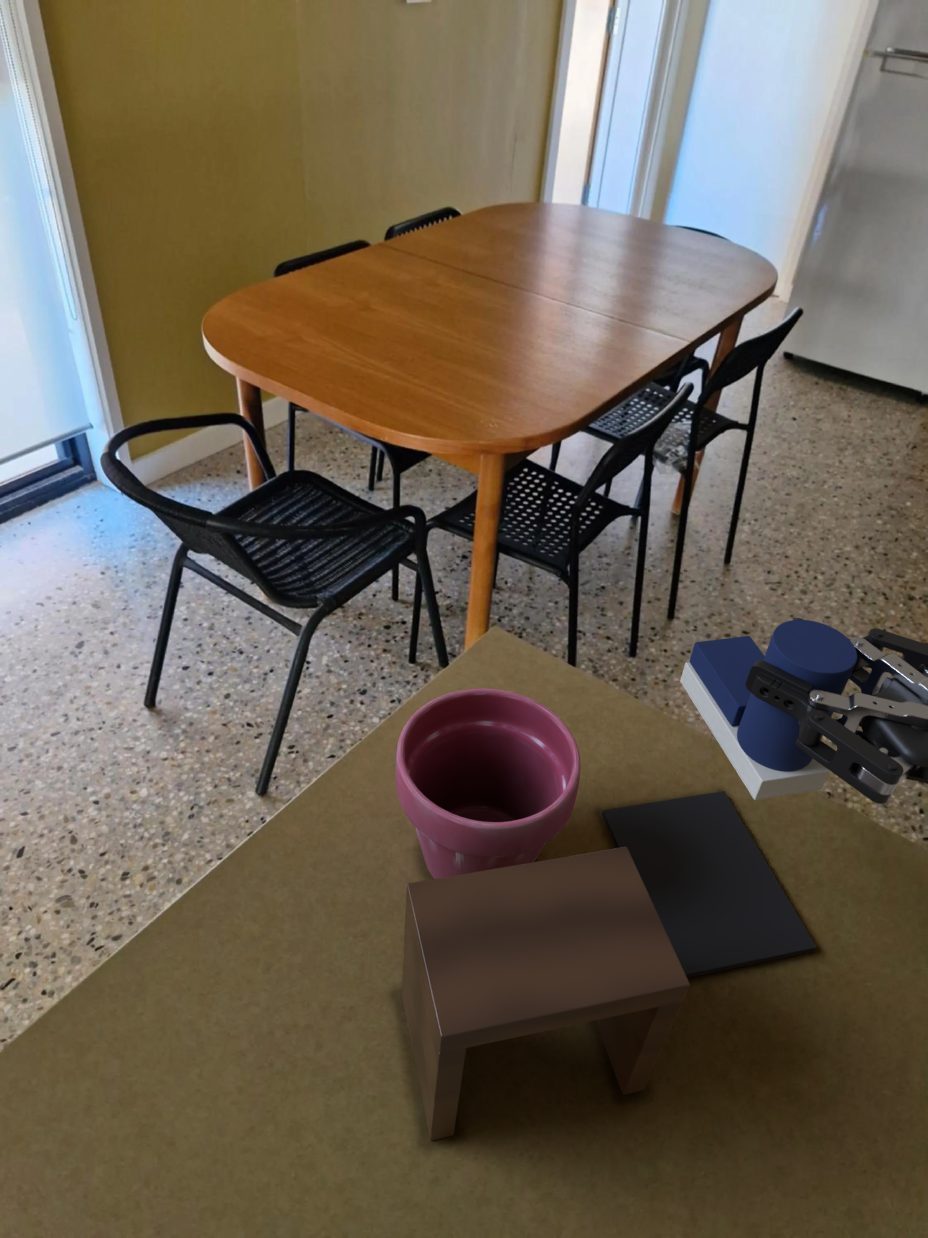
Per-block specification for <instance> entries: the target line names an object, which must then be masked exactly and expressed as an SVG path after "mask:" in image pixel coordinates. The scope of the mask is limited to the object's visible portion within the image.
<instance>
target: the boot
mask: <svg viewBox="0 0 928 1238" xmlns="http://www.w3.org/2000/svg"><path fill="white" fill-rule="evenodd" d="M849 639H850V638H849V637H847V636H846V635H845V634H843V633H842V632H841V631H840V630H837V629H836V628H834V627H832V626H830V625H827V624H825V623H822V622H819V621H816V620H809V619H804V620H794V619H791V620H786V621H784V622H782V623H780V624H779V625H777V626H776V627H775V629H774V630H773V632H772V635H771V637H770V640H769V643H768V646H767V649H766V651H765V654H764V653H763V652H762V650H761V649H760V648H759V646H758V645H757V643H756V642H755V641H754V640H753V638H752V637H751V636H750V635H744V636H735V637H727V638H719V639H712V640H711V639H710V640H702V641H696V642H694V644H693V648H692V650H691V654H690V658H689V661H687V662H685V663H684V666H683V670H682V673H681V677H680V681H679V682H680V684H681V685H682V687H683V688H684V690H685V692H686V693H687V695H688V696H689V698H690V700H691V701H692V703H693V704H694V706H695V708H696V710H697V711H698V712H699V714H700V715H701V717H702V719H703V721H704V722H705V724H706V725H707V727H708V729H709V731H710V732H711V733H712V735H713V737H714V738H715V740H716V741H717V743H718V744H719V746H720V748H721V750H722V751H723V752H724V754H725V756H726V757H727V759H728V761H729V762H730V764H731V765H732V767H733V768H734V771H735V772H736V773H737V775H738V777H739V778H740V780H741V781H742V783H743V785H744V786H745V787H746V790H747V791H748V792H749V794H750V796H751V798H752V799H753V801H760V800H766V799H771V798H777V797H784V796H790V795H794V794H801V793H808V792H814V791H820V790H822V789H823V787H824V786H825V783H826V780H827V779H828V777H829V774H830V773H831V771H830V770H828V769H827V768H826V767H824V766H823V765H821V764H820V763H819V762H817V761H816V760H814V759H813V758H812V757H810V756H809V755H807V754H806V753H805V752H803V751H802V750H800V749H799V748H798V747H797V745H796V741H797V738H798V736H799V729H800V726H799V724H798V720H797V719H796V718H795V717H793V716H792V715H790V714H788V713H786V712H784V711H782V710H780V709H778V708H776V707H774V706H772V705H770V704H768V703H766V701H765V702H764V701H762V700H760V699H758V698H757V697H755V696H754V695H753V694H752V693H751V692H750V691H749V690H748V689H747V688H746V685H745V684H746V681H747V678H748V675H749V672H750V669H751V667H752V666H753V665H754V664H755V663H756V662H757V661H758V660H763V661H766V662H768V663H770V664H772V665H774V666H776V667H778V668H780V669H782V670H784V671H786V672H788V673H790V674H792V675H794V676H796V677H798V678H800V679H802V680H804V681H806V682H808V683H810V684H812V685H813V687H812V690H816V689H817V690H822V691H826V692H831V693H835V694H839V695H842V694H843V693H844V691H845V688H846V686H847V684H848V682H849V680H850V679H849V677H850V675H851V673H852V671H853V669H854V666H855V664H856V662H857V651H856V649H855V647H854V645H853V644H852V642H851V641H850V640H849ZM812 690H811V691H812ZM827 715H828V716H830V717H831V718H833V715H834V712H831V711H828V712H827ZM822 739H823V737H822V738H821V740H822Z"/></svg>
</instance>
